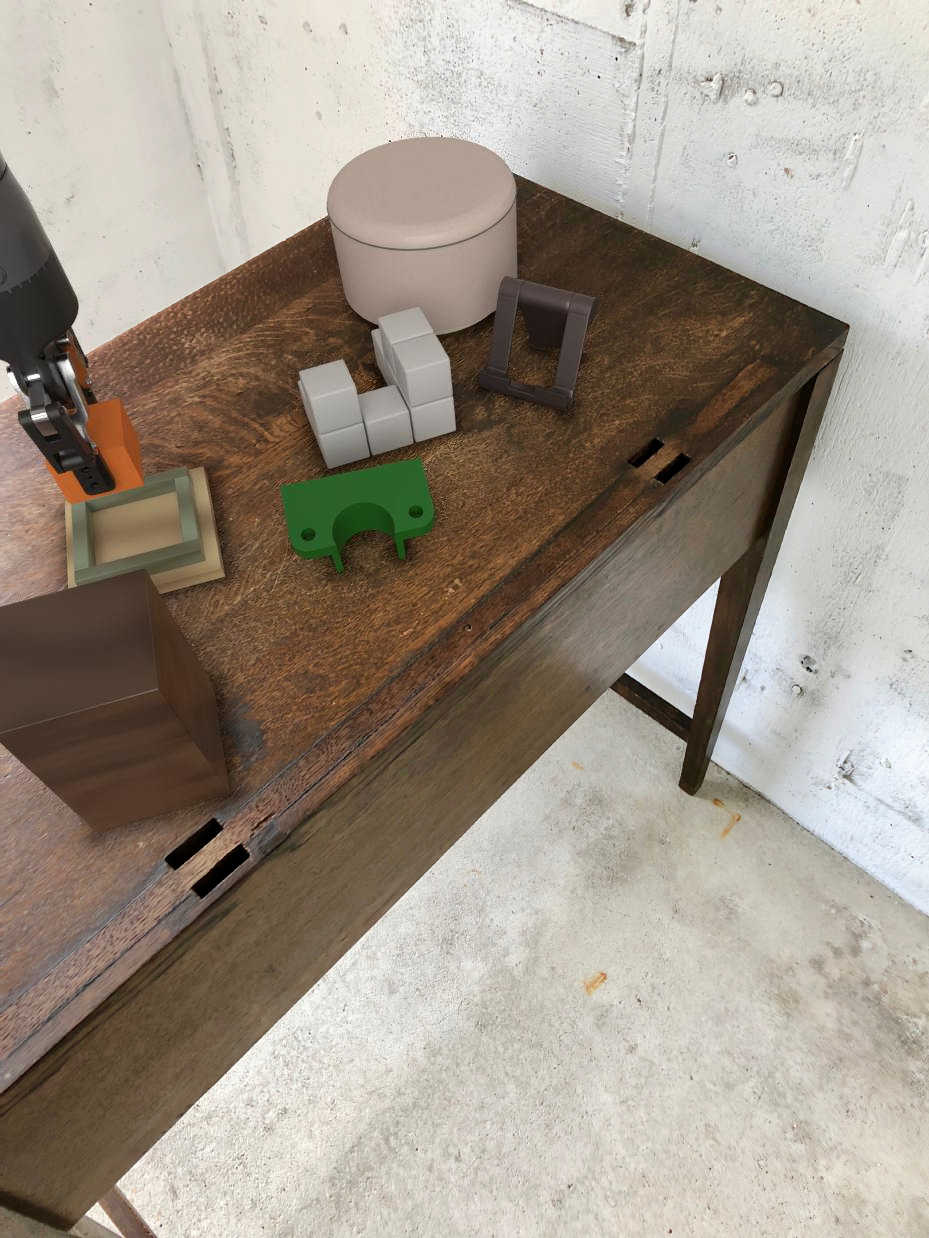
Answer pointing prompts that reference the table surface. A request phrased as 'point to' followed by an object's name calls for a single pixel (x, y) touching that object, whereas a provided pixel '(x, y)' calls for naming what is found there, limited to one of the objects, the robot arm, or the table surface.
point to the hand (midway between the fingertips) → (99, 461)
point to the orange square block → (108, 451)
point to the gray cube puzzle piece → (383, 394)
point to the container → (425, 230)
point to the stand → (109, 702)
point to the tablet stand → (539, 338)
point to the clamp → (358, 508)
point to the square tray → (147, 532)
